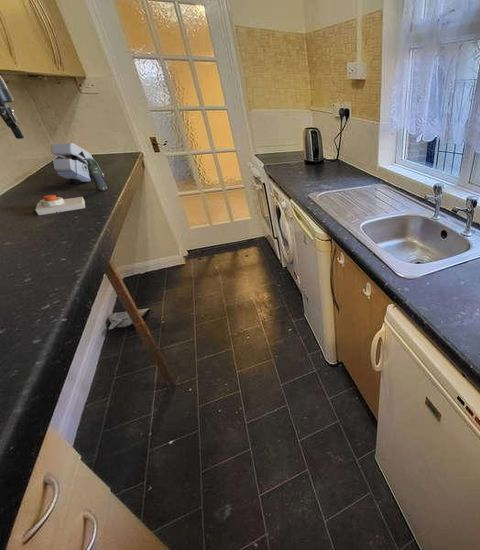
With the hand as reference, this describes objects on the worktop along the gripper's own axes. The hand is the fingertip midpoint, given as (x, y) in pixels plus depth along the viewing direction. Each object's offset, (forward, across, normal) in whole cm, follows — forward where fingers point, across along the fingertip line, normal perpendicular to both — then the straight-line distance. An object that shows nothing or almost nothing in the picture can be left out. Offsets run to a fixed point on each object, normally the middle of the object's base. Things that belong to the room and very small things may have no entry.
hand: (20, 138), depth 118 cm
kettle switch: (+21, +17, +2) cm, 27 cm away
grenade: (+25, -5, +18) cm, 31 cm away
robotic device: (+25, -32, +10) cm, 42 cm away
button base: (+25, +17, +4) cm, 31 cm away
